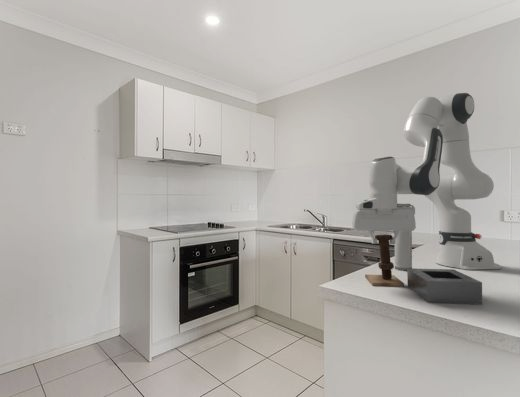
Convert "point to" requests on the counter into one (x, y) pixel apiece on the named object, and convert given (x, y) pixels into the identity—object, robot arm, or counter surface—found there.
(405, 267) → the travel mug
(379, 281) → the walnut pad
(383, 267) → the bolt
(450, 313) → the counter surface
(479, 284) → the socket block
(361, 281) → the counter surface
